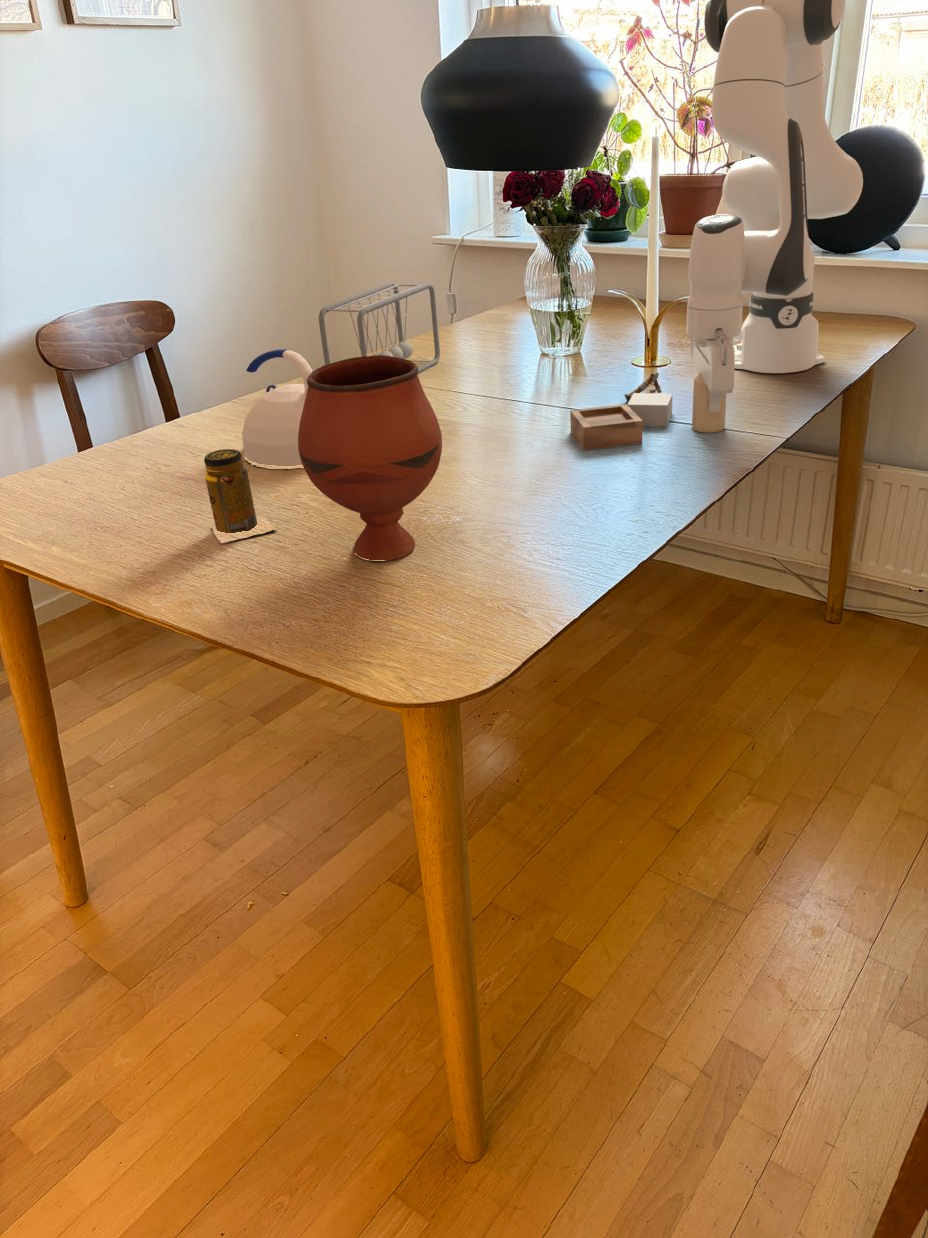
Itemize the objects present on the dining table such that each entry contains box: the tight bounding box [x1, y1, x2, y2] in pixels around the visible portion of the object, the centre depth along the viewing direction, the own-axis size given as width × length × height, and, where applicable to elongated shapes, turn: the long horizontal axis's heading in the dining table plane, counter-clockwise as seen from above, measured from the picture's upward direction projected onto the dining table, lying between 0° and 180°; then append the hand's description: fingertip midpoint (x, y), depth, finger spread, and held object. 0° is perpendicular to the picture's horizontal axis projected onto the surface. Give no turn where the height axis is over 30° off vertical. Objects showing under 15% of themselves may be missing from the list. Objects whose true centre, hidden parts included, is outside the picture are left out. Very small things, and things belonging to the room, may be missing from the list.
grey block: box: [626, 392, 673, 427], centre depth 176 cm, size 7×7×4 cm
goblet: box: [298, 354, 443, 561], centre depth 130 cm, size 19×19×25 cm
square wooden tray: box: [569, 403, 644, 451], centre depth 169 cm, size 10×10×4 cm
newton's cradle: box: [318, 281, 441, 374], centre depth 210 cm, size 30×10×18 cm, turn 152°
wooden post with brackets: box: [623, 372, 663, 402], centre depth 187 cm, size 2×8×4 cm, turn 121°
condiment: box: [203, 448, 257, 533], centre depth 143 cm, size 7×8×12 cm
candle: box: [691, 372, 728, 434], centre depth 168 cm, size 6×6×10 cm
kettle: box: [241, 349, 314, 466], centre depth 172 cm, size 20×21×18 cm
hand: (710, 404), depth 168 cm, fingers closed on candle, 5 cm apart
